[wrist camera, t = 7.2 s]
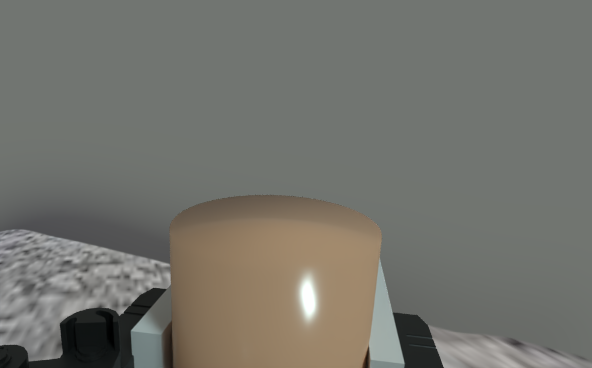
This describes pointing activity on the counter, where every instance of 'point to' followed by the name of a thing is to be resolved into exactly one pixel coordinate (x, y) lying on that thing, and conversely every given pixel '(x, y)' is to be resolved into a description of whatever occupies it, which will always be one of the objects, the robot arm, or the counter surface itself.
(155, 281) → the counter surface
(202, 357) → the canister
